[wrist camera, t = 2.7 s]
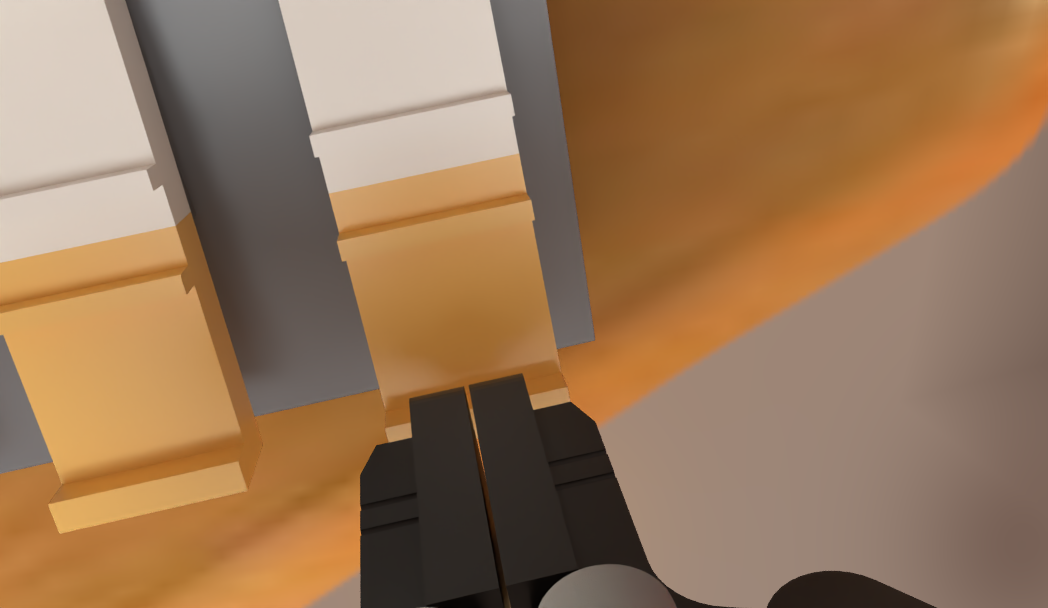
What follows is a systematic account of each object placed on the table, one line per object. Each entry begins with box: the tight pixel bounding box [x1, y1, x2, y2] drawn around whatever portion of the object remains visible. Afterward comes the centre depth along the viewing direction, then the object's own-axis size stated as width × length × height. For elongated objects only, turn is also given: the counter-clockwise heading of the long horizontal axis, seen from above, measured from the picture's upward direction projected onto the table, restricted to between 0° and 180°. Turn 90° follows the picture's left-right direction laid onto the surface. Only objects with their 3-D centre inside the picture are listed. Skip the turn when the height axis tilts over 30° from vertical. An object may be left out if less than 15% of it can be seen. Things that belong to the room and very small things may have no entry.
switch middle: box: [0, 0, 263, 534], centre depth 13 cm, size 8×3×2 cm, turn 9°
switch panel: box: [0, 0, 595, 474], centre depth 16 cm, size 10×15×5 cm
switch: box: [278, 0, 570, 442], centre depth 14 cm, size 8×3×2 cm, turn 9°
